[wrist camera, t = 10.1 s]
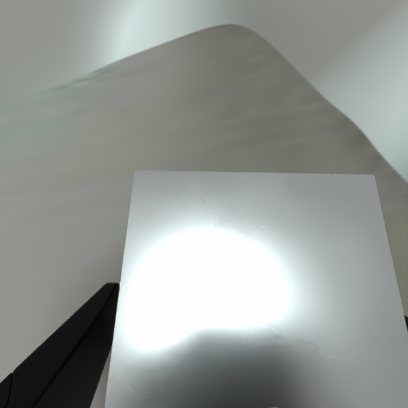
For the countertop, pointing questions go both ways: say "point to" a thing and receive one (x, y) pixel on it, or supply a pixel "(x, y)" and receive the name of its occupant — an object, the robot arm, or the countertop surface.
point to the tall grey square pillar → (257, 295)
